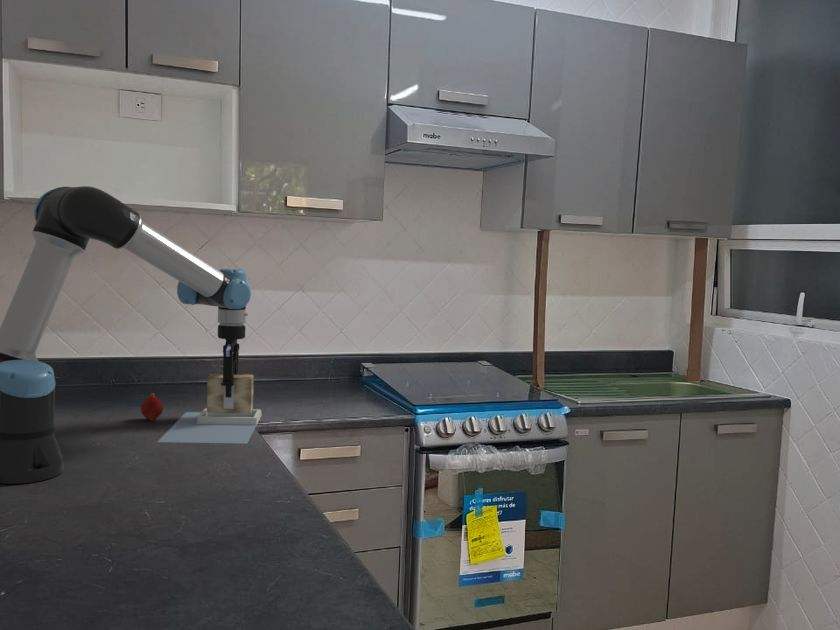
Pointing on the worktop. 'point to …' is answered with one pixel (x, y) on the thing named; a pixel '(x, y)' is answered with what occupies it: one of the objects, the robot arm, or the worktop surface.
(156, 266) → the robot arm
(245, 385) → the block
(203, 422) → the frame
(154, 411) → the onion
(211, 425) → the mat
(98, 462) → the worktop surface
